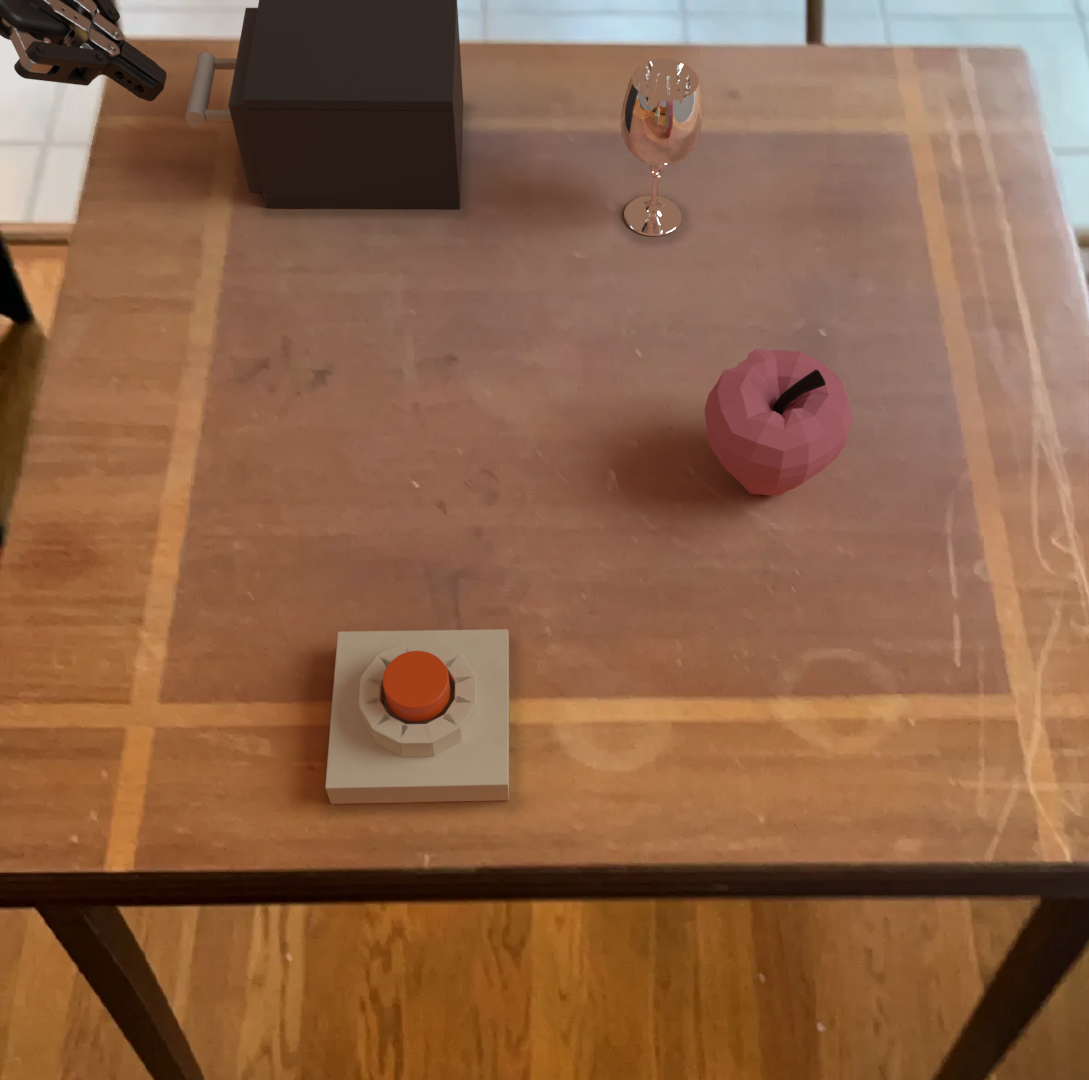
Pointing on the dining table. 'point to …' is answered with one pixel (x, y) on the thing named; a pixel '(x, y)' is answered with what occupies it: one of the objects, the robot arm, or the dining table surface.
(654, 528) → the dining table surface
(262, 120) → the dark brown box
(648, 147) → the wineglass
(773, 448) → the apple
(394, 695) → the button
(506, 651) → the control block
